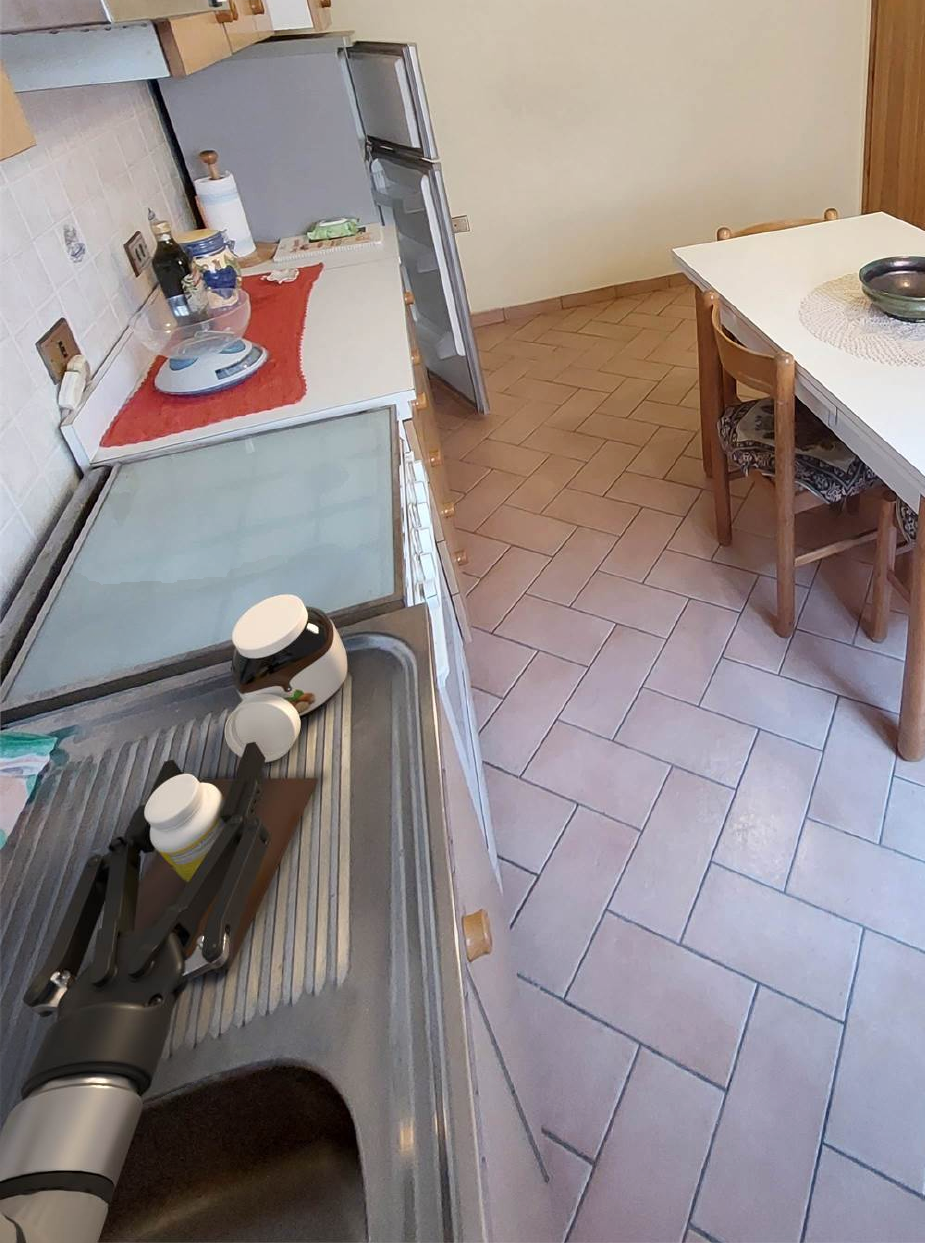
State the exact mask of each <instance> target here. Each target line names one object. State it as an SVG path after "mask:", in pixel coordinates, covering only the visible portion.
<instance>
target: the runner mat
mask: <svg viewBox="0 0 925 1243" xmlns="http://www.w3.org/2000/svg"><path fill="white" fill-rule="evenodd" d="M233 780H234V778H203V779H202V780H201V782H200V783H209V784H212V785H214V786H215V787H216V788H217V789H218V790H219V791H220V792H221V794H222V795H223V796H224V798H225V799H227V796H228V794H229V791H230V788H231V785H232V783H233ZM318 782H319V778H318V777H280V778H279V777H273V778H271V777H270V778H269V777H267V778H266V777H265V778H264V777H263V778H260V777H259V780H258V783H259V784H260V786H261V787H262V796H261V799H260V802H259V804H258V808H257V811H256V814H255V818H256V817H258V818H260V819H261V820H262V822H263V823H264V825H265V826H266V828H267V829H268V830H269V832H270V833H271V840H270V842H269V845H268V848H267V850H266V853H265V856H264V858H263V861H262V863H261V866H260V869H259V871H258V874H257V876H256V879H255V882H254V884H253V887H252V890H251V892H250V895H249V897H248V900H247V903H246V905H245V908H244V911H243V913H242V916H241V918H240V921H239V924H238V926H237V929H236V932H235V934H234V944H233V957H232V962H231V964H230V966H229V967H228V968H227V969H226V970H225V971H230V970H231V968H232V966H233V964H234V961H235V960H236V957H237V955H238V953H239V951H240V949H241V947H242V945H243V942H244V941H245V938H246V936H247V934H248V933H249V930H250V927H251V925H252V923H253V921H254V919H255V917H256V915H257V912H258V910H259V908H260V906H261V904H262V902H263V900H264V898H265V895H266V894H267V891H268V889H269V887H270V884H271V883H272V880H273V878H274V876H275V874H276V872H277V869H278V868H279V866H280V863H281V861H282V859H283V856H284V855H285V853H286V850H287V848H288V846H289V844H290V842H291V839H292V838H293V836H294V833H295V832H296V828H297V826H298V824H299V822H300V821H301V818H302V816H303V815H304V812H305V810H306V807H307V805H308V803H309V801H310V799H311V797H312V796H313V792H314V790H315V788H316V786H317V784H318ZM186 885H187V883H186V882H185V881H184V880H183V879H182V878H181V877H180V875H179V874H178V873H177V872H176V871H175V870H174V869H173V868H172V866H171V865H170V864H169V863H168V862H167V861H166V860H165V858H164V857H163V856H162V855H161V854H160V853H159V852H158V853H157V855H156V856H155V858H154V860H153V862H152V863H151V865H150V866H149V868H148V870H147V871H146V873H145V875H144V877H143V878H142V880H141V882H139V886H138V896H137V906H136V916H135V926H134V931H142V930H144V929H147V928H149V927H151V926H153V925H156V924H157V923H158V921H159V919H160V918H161V916H162V915H163V913H164V912H165V910H166V909H167V908H168V907H171V906H173V905H174V904H175V902H176V901H177V899H178V898H179V896H180V894H181V893H182V891H183V890H184V888H185V887H186ZM219 890H220V889H219ZM218 893H219V891H218V892H217V894H216V896H215V897H214V899H213V901H212V902H211V904H210V906H209V907H208V909H207V910H206V912H205V914H204V915H203V917H202V919H201V920H200V923H199V929H198V932H197V934H196V936H195V937H194V939H193V941H192V942H191V944H190V946H189V947H188V949H187V951H186V952H185V954H186V957H187V959H188V958H189V957H191V955H192V954H193V953H194V951H195V949H196V946H197V944H196V941H197V939H198V938H199V937H200V936H202V935H204V931H205V927H206V923H207V920H208V917H209V914H210V912H211V910H212V907H213V905H214V902H215V900H216V898H217V895H218ZM173 930H174V931H175V932H176V930H175V929H174V928H173ZM176 933H177V932H176ZM209 971H215V970H214V969H210V970H209Z"/></svg>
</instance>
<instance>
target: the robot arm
mask: <svg viewBox="0 0 925 1243" xmlns="http://www.w3.org/2000/svg"><path fill="white" fill-rule="evenodd" d="M265 759H266V758H265V757H264V755H263V753H262V752H261V750H260V749H259V747H258V746H257V744H256V742H251V743H247V744H246V747H245V749H244V752H243V755H242V758H241V757H240V761H239V763H238V766H237V768H236V771H235V775H234V778H233V779H234V780H233V783H232V785H231V788H230V791H229V794H228V796H227V799H226V802H225V805H224V807H223V810H222V813H221V816H220V817H221V818H222V820H223V821H224V822H225V824H226V825H225V826H224V828H223V830H222V831H221V833H220V834H219V836H218V837H217V839H216V840H215V842H214V843H213V845H212V847H211V848H210V850H209V851H208V853H207V854H206V856H205V857H204V859H203V860H202V862H201V864H200V865H199V867H198V868H197V870H196V871H195V873H194V874H193V876H192V877H191V879H190V881H189V882H188V884H187V885H186V887H185V888H184V890H183V891H182V893H181V894H180V896H179V898H178V899H177V901H176V902H175V904H174V905H173V906H171V907H168V908H167V909H166V910H165V912H164V913H163V915H162V916H161V918H160V919H159V921H158V923H157V924H156V925H153V926H151V927H149V928H147V929H144V930H142V931H134V926H135V916H136V906H137V896H138V887H139V885H140V876H141V865H142V856H141V853H143V854H149V853H154V852H155V850H156V849H155V847H154V846H153V844H152V842H151V839H150V828H151V825H150V824H149V822H148V821H147V820H146V818H145V815H144V810H145V806H146V804H147V801H148V800H149V798H150V796H151V795H152V794H153V792H154V791H155V790H156V789H157V788H158V787H159V786H160V785H162V784H163V783H164V782H166V781H167V780H169V779H170V778H172V777H175V776H177V775H181V774H184V772H183V770H182V769H181V768H180V767H179V766H178V764H177V763H176V762H175V760H174V759H170V760H164V762H163V764H162V765H161V768H160V770H159V772H158V774H157V777H156V779H155V781H154V784H153V786H152V788H151V790H150V792H149V795H148V796H147V799H146V801H145V803H144V804H142V805H141V804H140V805H138V807H137V808H136V809H135V810H134V812H133V814H132V815H131V819H130V820H129V823H128V825H127V827H126V829H125V832H124V834H123V835H118V836H116V837H114V838H113V839H112V840H111V841H110V842H109V843H108V845H107V849H108V850H109V852H106V853H105V854H103V855H101V853H96V854H95V855H94V854H93V855H92V856H91V857H89V859H88V860H87V861H86V862H85V863H84V866H83V868H82V871H81V874H80V876H79V879H78V881H77V883H76V886H75V888H74V891H73V894H72V895H71V898H70V901H69V903H68V906H67V908H66V911H65V913H64V915H63V918H62V920H61V923H60V926H59V927H58V928H59V929H58V930H57V933H56V935H55V938H54V939H53V940H54V941H53V943H52V946H51V948H50V951H49V953H48V955H47V958H46V961H45V963H44V964H43V966H42V967H41V969H40V971H39V972H38V973H37V975H36V977H35V978H34V979H33V981H32V982H31V984H30V985H29V987H28V988H27V990H26V991H25V993H24V995H23V998H22V1001H23V1003H24V1005H26V1006H27V1007H29V1008H30V1009H31V1010H33V1011H34V1012H35V1013H36V1014H38V1015H39V1017H41V1018H47V1017H49V1016H51V1015H52V1014H53V1013H54V1012H56V1020H55V1021H54V1022H53V1023H52V1024H51V1026H50V1027H49V1028H48V1029H47V1031H46V1033H45V1034H44V1037H43V1039H42V1042H41V1044H40V1046H39V1048H38V1050H37V1052H36V1055H35V1057H34V1059H33V1061H32V1064H31V1065H30V1068H29V1070H28V1072H27V1075H26V1077H25V1079H24V1081H23V1083H22V1086H21V1088H20V1092H19V1093H20V1097H21V1101H20V1102H19V1103H18V1104H16V1105H15V1106H14V1107H13V1109H12V1110H10V1112H9V1113H8V1115H7V1118H6V1120H5V1122H4V1125H3V1127H2V1129H1V1130H0V1243H99V1239H100V1236H101V1234H102V1230H103V1228H104V1224H105V1222H106V1219H107V1215H108V1212H109V1207H110V1204H111V1201H112V1198H113V1196H114V1192H115V1190H116V1187H117V1185H118V1181H119V1178H120V1175H121V1173H122V1169H123V1166H124V1164H125V1160H126V1157H127V1154H128V1152H129V1148H130V1146H131V1143H132V1140H133V1137H134V1134H135V1131H136V1128H137V1126H138V1123H139V1121H140V1116H141V1115H142V1114H141V1113H142V1110H143V1107H144V1104H143V1100H142V1099H141V1098H142V1097H143V1096H144V1094H145V1093H146V1092H147V1091H148V1090H149V1089H150V1088H151V1086H152V1083H153V1080H154V1077H155V1074H156V1071H157V1069H158V1065H159V1062H160V1059H161V1057H162V1055H163V1054H162V1053H163V1050H164V1047H165V1044H166V1041H167V1038H168V1037H169V1032H170V1030H171V1023H172V1018H173V1012H174V1008H175V1006H176V1005H177V1002H178V1000H179V999H180V997H181V996H182V995H183V993H184V991H186V989H187V987H188V985H189V983H190V981H191V980H193V979H195V978H196V977H199V976H201V975H202V974H204V973H206V972H209V971H211V970H210V969H214V970H213V971H215V973H218V974H220V973H223V972H225V971H227V970H226V969H227V968H228V967H229V966H230V964H231V962H232V957H233V944H234V934H235V932H236V929H237V926H238V924H239V921H240V918H241V916H242V913H243V911H244V908H245V905H246V903H247V900H248V897H249V895H250V892H251V890H252V887H253V884H254V882H255V879H256V876H257V874H258V871H259V869H260V866H261V863H262V861H263V858H264V856H265V853H266V850H267V848H268V845H269V842H270V840H271V833H270V832H269V830H268V829H267V828H266V826H265V825H264V823H263V822H262V820H261V819H260V818H258V817H256V818H255V814H256V811H257V808H258V804H259V802H260V799H261V796H262V787H261V786H260V784H259V783H258V780H259V778H260V777H261V774H262V771H263V769H264V765H265V763H266V762H265ZM219 889H220V890H219ZM218 891H219V893H218V895H217V898H216V900H215V902H214V905H213V907H212V910H211V912H210V914H209V917H208V920H207V923H206V927H205V931H204V935H202V936H200V937H199V938H198V939H197V941H196V944H197V946H196V949H195V951H194V953H193V954H192V955H191V957H189V958H188V959H187V957H186V954H185V952H186V951H187V949H188V947H189V946H190V944H191V942H192V941H193V939H194V937H195V936H196V934H197V932H198V929H199V923H200V920H201V919H202V917H203V915H204V914H205V912H206V910H207V909H208V907H209V906H210V904H211V902H212V901H213V899H214V897H215V896H216V894H217V892H218ZM102 911H103V912H102ZM101 913H102V922H101V927H100V928H99V929H98V930H97V933H96V939H95V945H94V953H93V959H92V961H91V963H90V964H89V965H88V966H87V967H86V968H85V969H84V970H83V971H82V973H81V974H80V975H79V976H78V974H79V972H80V969H81V967H82V965H83V962H84V959H85V956H86V955H87V951H88V948H89V946H90V943H91V940H92V938H93V934H94V932H95V930H96V927H97V924H98V922H99V919H100V916H101ZM173 928H174V929H175V930H176V932H177V933H176V932H175V931H174V930H173ZM77 976H78V977H77Z"/></svg>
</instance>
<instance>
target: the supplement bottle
mask: <svg viewBox="0 0 925 1243" xmlns="http://www.w3.org/2000/svg"><path fill="white" fill-rule="evenodd" d="M146 801H147V800H146ZM225 802H226V799H225V798H224V796H223V795H222V794H221V792H220V791H219V790H218V789H217V788H216V787H215V786H214V785H212V784H209V783H201V782H200V781H199V780H198V779H197V778H196V777H195V776H194V775H193V774H190V773H183V774H181V775H177V776H175V777H172V778H170V779H169V780H167V781H166V782H164V783H163V784H162V785H160V786H159V787H158V788H157V789H156V790H155V791H154V792H153V794H152V795H151V796H150V798H149V800H148V801H147V804H146V806H145V810H144V815H145V818H146V820H147V821H148V822H149V824H150V825H151V828H150V839H151V842H152V844H153V846H154V847H155V850H156V851H157V852H158V853H160V854H161V855H162V856H163V857H164V858H165V860H166V861H167V862H168V863H169V864H170V865H171V866H172V868H173V869H174V870H175V871H176V872H177V873H178V874H179V875H180V877H181V878H182V879H183V880H184V881H185V882H186V883H187V884H188V882H189V881H190V879H191V877H192V876H193V874H194V873H195V871H196V870H197V868H198V867H199V865H200V864H201V862H202V860H203V859H204V857H205V856H206V854H207V853H208V851H209V850H210V848H211V847H212V845H213V843H214V842H215V840H216V839H217V837H218V836H219V834H220V833H221V831H222V830H223V828H224V826H225V825H226V824H225V822H224V821H223V820H222V818H221V817H220V816H221V813H222V810H223V807H224V805H225Z"/></svg>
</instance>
